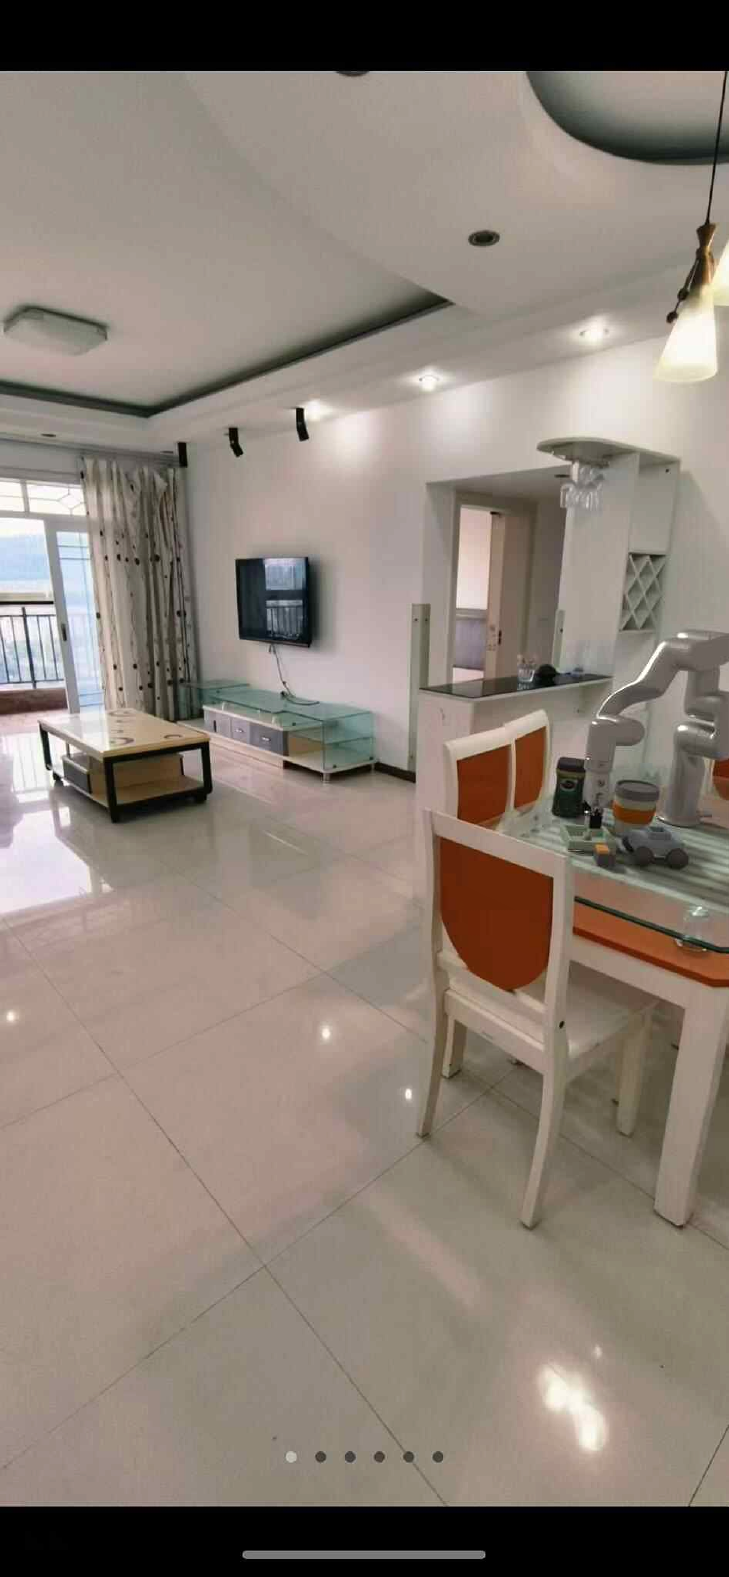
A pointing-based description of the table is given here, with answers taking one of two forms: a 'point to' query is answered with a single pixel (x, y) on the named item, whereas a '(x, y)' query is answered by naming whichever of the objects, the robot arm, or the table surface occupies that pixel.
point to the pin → (587, 826)
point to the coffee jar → (569, 787)
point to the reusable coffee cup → (634, 805)
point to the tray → (574, 840)
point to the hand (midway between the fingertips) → (590, 821)
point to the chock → (604, 855)
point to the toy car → (655, 846)
